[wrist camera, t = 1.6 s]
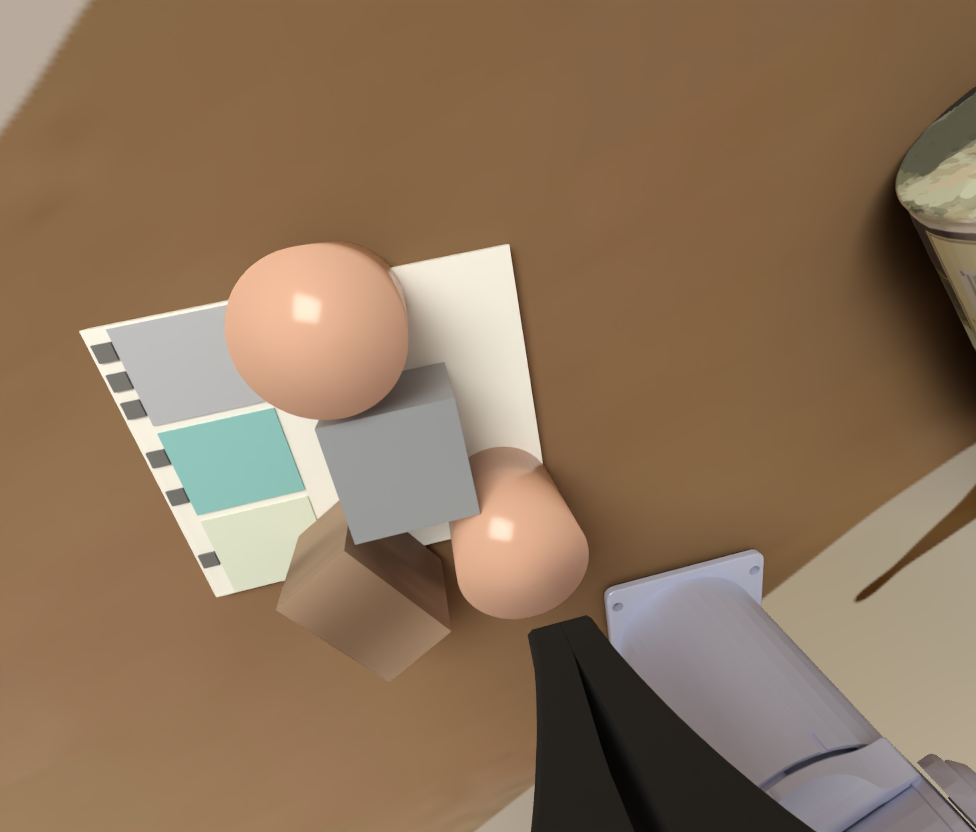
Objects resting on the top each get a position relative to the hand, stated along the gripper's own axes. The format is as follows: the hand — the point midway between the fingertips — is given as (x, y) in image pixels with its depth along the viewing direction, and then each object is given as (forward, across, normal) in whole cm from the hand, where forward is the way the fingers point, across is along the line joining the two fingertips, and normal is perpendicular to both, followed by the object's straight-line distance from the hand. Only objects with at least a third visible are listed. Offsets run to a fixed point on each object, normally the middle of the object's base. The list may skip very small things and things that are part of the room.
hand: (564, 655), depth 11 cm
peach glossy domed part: (+9, +4, -7) cm, 12 cm away
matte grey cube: (+9, +3, -2) cm, 10 cm away
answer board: (+10, +5, -2) cm, 11 cm away
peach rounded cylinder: (+9, 0, +2) cm, 10 cm away
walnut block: (+9, +6, +2) cm, 11 cm away
